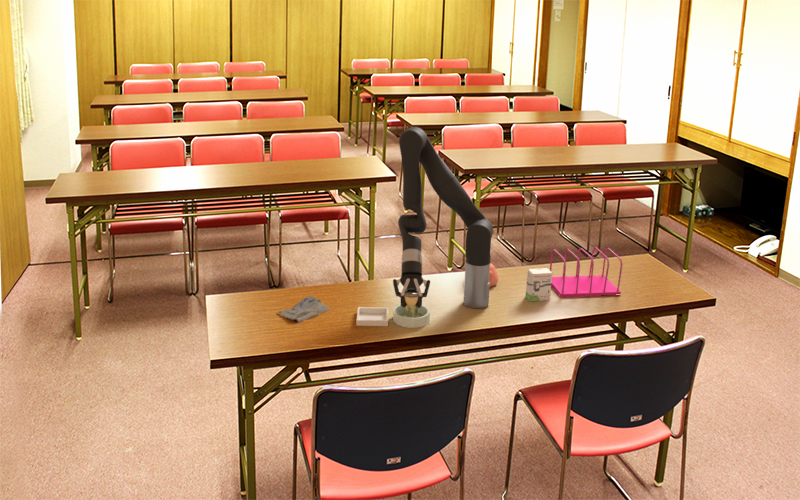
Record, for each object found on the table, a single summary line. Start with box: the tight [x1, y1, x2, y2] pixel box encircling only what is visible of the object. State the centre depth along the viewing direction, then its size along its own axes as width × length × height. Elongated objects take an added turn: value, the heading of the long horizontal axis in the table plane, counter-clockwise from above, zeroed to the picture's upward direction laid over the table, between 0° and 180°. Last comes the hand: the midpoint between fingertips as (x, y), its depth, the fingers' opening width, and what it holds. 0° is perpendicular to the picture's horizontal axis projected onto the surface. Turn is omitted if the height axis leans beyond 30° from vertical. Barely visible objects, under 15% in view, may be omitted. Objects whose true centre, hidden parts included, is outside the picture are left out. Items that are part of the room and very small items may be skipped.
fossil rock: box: [277, 296, 330, 323], centre depth 265 cm, size 18×15×2 cm
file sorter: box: [549, 246, 623, 298], centre depth 288 cm, size 17×25×16 cm
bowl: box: [392, 303, 431, 329], centre depth 258 cm, size 13×13×4 cm
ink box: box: [524, 267, 553, 302], centre depth 278 cm, size 9×5×12 cm, turn 102°
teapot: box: [489, 262, 499, 288], centre depth 293 cm, size 12×18×10 cm
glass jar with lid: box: [404, 290, 419, 317], centre depth 257 cm, size 5×5×8 cm
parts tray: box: [355, 306, 389, 327], centre depth 259 cm, size 11×11×2 cm
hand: (411, 307), depth 255 cm, fingers closed on glass jar with lid, 5 cm apart
